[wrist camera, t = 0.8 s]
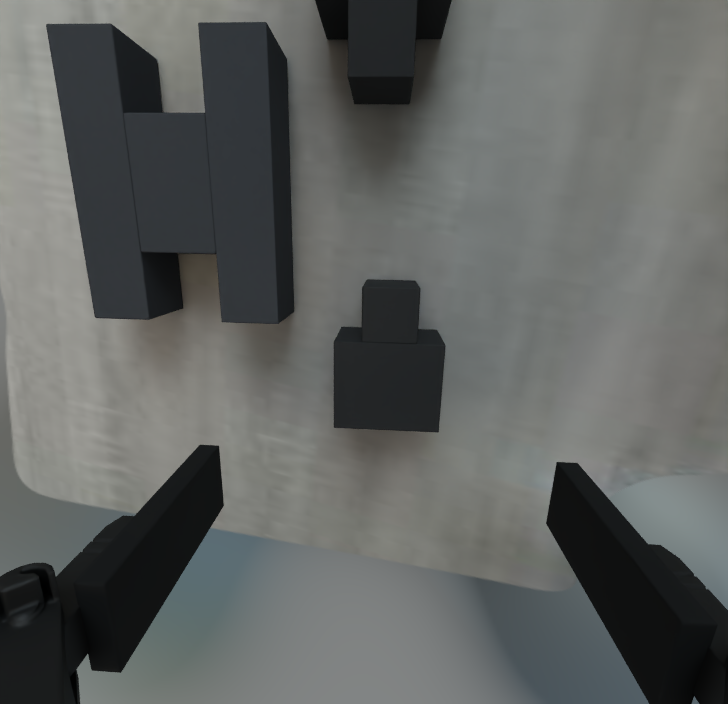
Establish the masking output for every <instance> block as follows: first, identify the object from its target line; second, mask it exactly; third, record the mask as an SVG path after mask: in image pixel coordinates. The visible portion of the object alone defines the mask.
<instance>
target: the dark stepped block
mask: <svg viewBox="0 0 728 704" xmlns="http://www.w3.org/2000/svg"><path fill="white" fill-rule="evenodd" d="M419 304H420V288H419V286H418V284H417V283H416V281H403V280H366V282H365V284H364V286H363V288H362V328H359V327H341V329H340V331H339V333H338V335H337V337H336V339H335V341H334V428H353V429H375V430H398V431H420V432H439V420H440V408H441V395H442V382H443V369H444V357H445V344H444V342H443V340H442V339H441V337H440V335H439V333H438V331H437V330H421V329H418V321H419Z"/></svg>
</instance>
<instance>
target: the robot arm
mask: <svg viewBox="0 0 728 704" xmlns="http://www.w3.org/2000/svg"><path fill="white" fill-rule="evenodd" d="M223 506H224V503H223V490H222V478H221V466H220V454H219V446H213V445H199V446H198V447H197V449H196V450H195V451H194V452H193V453H192V454H191V455H190V456H189V457H188V458H187V459H186V461H185V462H184V463H183V464H182V465H181V466H180V467H179V468H178V469H177V470H176V471H175V473H174V474H173V475H172V476H171V477H170V478H169V479H168V480H167V481H166V482H165V483H164V484H163V486H162V487H161V488H160V489H159V490H158V491H157V492H156V493H155V494H154V495H153V496H152V498H151V499H150V500H149V501H148V502H147V503H146V504H145V505H144V506H143V507H142V508H141V510H140V511H139V512H138V513H137V514H136V515H135V516H122V517H120V518H119V519H117V520H115V521H114V522H112V523H111V524H109V525H107V526H106V527H105V528H104V529H103V530H102V531H101V532H100V533H99V534H98V535H97V536H96V537H95V538H94V540H93V542H90V543H89V544H88V545H87V546H86V547H85V548H84V549H83V552H80V553H79V554H78V555H77V556H76V557H75V558H74V559H73V560H72V561H71V562H70V563H69V564H68V565H67V566H66V568H64V569H63V570H62V572H61V573H60V574H59V575H58V576H57V577H56V576H55V572H54V570H53V567H52V566H51V565H49V564H46V563H32V564H28V565H24V566H21V567H18V568H16V569H14V570H11V571H9V572H7V573H6V574H4V575H2V576H1V577H0V704H80V695H79V681H78V674H77V670H76V669H77V667H78V666H79V665H80V663H81V662H82V661H83V659H84V658H85V656H86V655H87V654H88V655H89V660H90V665H91V669H92V670H94V671H107V672H120V673H121V671H122V670H123V668H124V667H125V665H126V663H127V662H128V660H129V659H130V657H131V655H132V654H133V652H134V651H135V649H136V647H137V646H138V644H139V642H140V641H141V639H142V638H143V636H144V634H145V633H146V631H147V630H148V628H149V626H150V625H151V623H152V621H153V620H154V618H155V617H156V615H157V613H158V612H159V610H160V608H161V606H162V605H163V604H164V602H165V600H166V599H167V597H168V595H169V594H170V592H171V591H172V589H173V587H174V586H175V584H176V582H177V581H178V579H179V578H180V576H181V574H182V573H183V571H184V569H185V567H186V566H187V565H188V563H189V561H190V560H191V558H192V556H193V555H194V553H195V552H196V550H197V548H198V547H199V545H200V543H201V542H202V540H203V539H204V537H205V535H206V534H207V532H208V530H209V529H210V527H211V526H212V524H213V522H214V521H215V519H216V517H217V516H218V514H219V513H220V511H221V509H222V508H223ZM546 524H547V526H548V527H549V529H550V531H551V533H552V534H553V536H554V538H555V540H556V541H557V543H558V545H559V547H560V548H561V550H562V552H563V554H564V555H565V557H566V559H567V561H568V562H569V564H570V566H571V568H572V569H573V571H574V573H575V575H576V576H577V578H578V580H579V582H580V583H581V585H582V587H583V588H584V590H585V592H586V594H587V595H588V597H589V599H590V601H591V602H592V604H593V606H594V608H595V609H596V611H597V613H598V615H599V616H600V618H601V620H602V622H603V623H604V625H605V627H606V629H607V630H608V632H609V634H610V636H611V637H612V639H613V641H614V643H615V644H616V646H617V648H618V650H619V651H620V653H621V654H622V657H623V658H624V660H625V662H626V664H627V665H628V667H629V669H630V671H631V672H632V674H633V676H634V677H635V679H636V681H637V683H638V684H639V686H640V688H641V690H642V692H643V693H644V695H645V696H646V698H647V700H648V702H649V704H691V703H692V700H693V697H694V696H695V698H696V699H697V701H698V702H699V704H728V610H727V609H726V608H725V607H724V606H723V605H722V604H721V602H720V601H719V600H718V599H717V598H716V597H715V596H714V595H713V594H712V593H711V592H710V591H709V590H708V589H706V588H705V586H704V584H703V583H702V582H701V581H700V580H699V579H698V578H697V577H694V574H693V572H692V571H691V570H690V569H689V568H688V567H687V566H686V565H685V564H684V563H683V562H682V561H681V560H680V558H678V557H677V556H675V555H674V554H672V553H671V552H670V551H668V550H667V549H665V548H664V547H662V546H661V545H651V544H647V543H646V541H645V540H644V539H643V538H642V537H641V536H640V535H639V533H638V532H637V531H636V530H635V529H634V528H633V527H632V525H631V524H630V523H629V522H628V521H627V520H626V519H625V517H624V516H623V515H622V514H621V513H620V512H619V510H618V509H617V508H616V507H615V506H614V505H613V504H612V502H611V501H610V500H609V499H608V498H607V497H606V495H605V494H604V493H603V492H602V491H601V490H600V489H599V487H598V486H597V485H596V484H595V483H594V482H593V480H592V479H591V478H590V477H589V476H588V475H587V474H586V472H585V471H584V470H583V469H582V468H581V467H580V466H579V464H578V463H565V462H557V464H556V470H555V476H554V481H553V487H552V493H551V499H550V505H549V510H548V516H547V522H546Z"/></svg>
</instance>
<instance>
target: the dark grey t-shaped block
mask: <svg viewBox="0 0 728 704" xmlns="http://www.w3.org/2000/svg"><path fill="white" fill-rule="evenodd" d="M315 1H316V5H317V8H318V11H319V14H320V18H321V21H322V24H323V28H324V31H325V34H326V37H327V39H348V80H349V84H350V88H351V92H352V96H353V100H354V104H409V103H410V97H411V91H412V85H413V78H414V62H415V41H416V39H441V38H442V34H443V30H444V27H445V23H446V19H447V15H448V12H449V8H450V4H451V0H315Z"/></svg>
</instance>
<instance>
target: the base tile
mask: <svg viewBox="0 0 728 704" xmlns="http://www.w3.org/2000/svg"><path fill="white" fill-rule="evenodd" d="M198 26H199V39H200V51H201V64H202V77H203V89H204V102H205V113H162V104H161V95H160V85H159V76H158V66H157V60H156V58H154V57H153V56H152V55H150V54H149V53H148V52H147V51H145V50H144V49H143V48H142V47H140V46H139V45H138V44H136V43H135V42H134V41H133V40H131V39H130V38H129V37H127V36H126V35H125V34H124V33H122V32H121V31H120V30H118V29H117V28H116V27H115V26H113V25H112V24H46V27H47V33H48V39H49V45H50V51H51V57H52V63H53V69H54V75H55V81H56V87H57V93H58V99H59V105H60V111H61V117H62V123H63V129H64V135H65V141H66V147H67V153H68V159H69V165H70V171H71V176H72V182H73V188H74V194H75V200H76V206H77V212H78V218H79V224H80V230H81V236H82V242H83V248H84V254H85V260H86V266H87V272H88V278H89V284H90V290H91V296H92V302H93V308H94V314H95V318H112V319H143V320H149V319H152V318H155V317H158V316H161V315H164V314H167V313H170V312H173V311H176V310H179V309H182V308H183V304H182V295H181V285H180V276H179V266H178V257H177V253H193V254H217V267H218V280H219V292H220V305H221V318H222V322H233V323H264V324H279V323H280V322H281V321H282V320H284V319H285V318H286V317H288V316H289V315H290V314H292V313H293V312H294V292H293V257H292V221H291V186H290V150H289V115H288V79H287V58H286V57H285V55H284V53H283V51H282V50H281V48H280V46H279V44H278V42H277V41H276V39H275V37H274V35H273V33H272V32H271V30H270V28H269V26H268V25H267V23H266V22H232V23H198Z"/></svg>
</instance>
